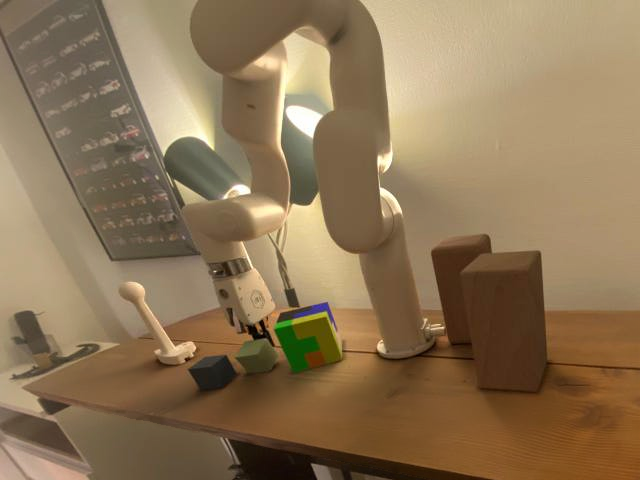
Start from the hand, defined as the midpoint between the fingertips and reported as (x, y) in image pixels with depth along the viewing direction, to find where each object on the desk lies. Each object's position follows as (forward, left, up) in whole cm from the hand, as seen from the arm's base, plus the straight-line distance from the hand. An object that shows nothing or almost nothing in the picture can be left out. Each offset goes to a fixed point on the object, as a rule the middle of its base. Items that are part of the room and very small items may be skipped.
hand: (266, 348), depth 84 cm
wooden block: (-55, +16, -3) cm, 57 cm away
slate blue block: (+7, +9, -3) cm, 11 cm away
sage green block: (0, +3, -2) cm, 4 cm away
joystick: (+29, -7, -3) cm, 30 cm away
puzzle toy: (-12, +1, -3) cm, 12 cm away
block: (-47, -2, -3) cm, 47 cm away
